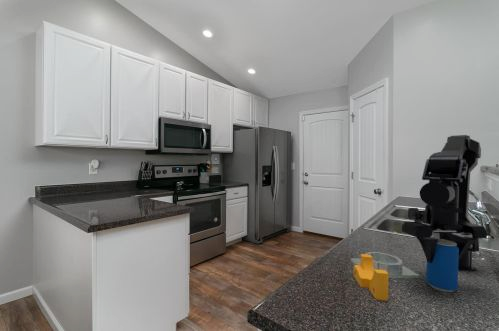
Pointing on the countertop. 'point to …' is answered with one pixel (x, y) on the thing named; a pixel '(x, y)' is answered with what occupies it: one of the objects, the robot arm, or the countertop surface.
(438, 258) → the beverage can
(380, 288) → the pipe clamp
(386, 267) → the duct collar
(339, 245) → the countertop surface
